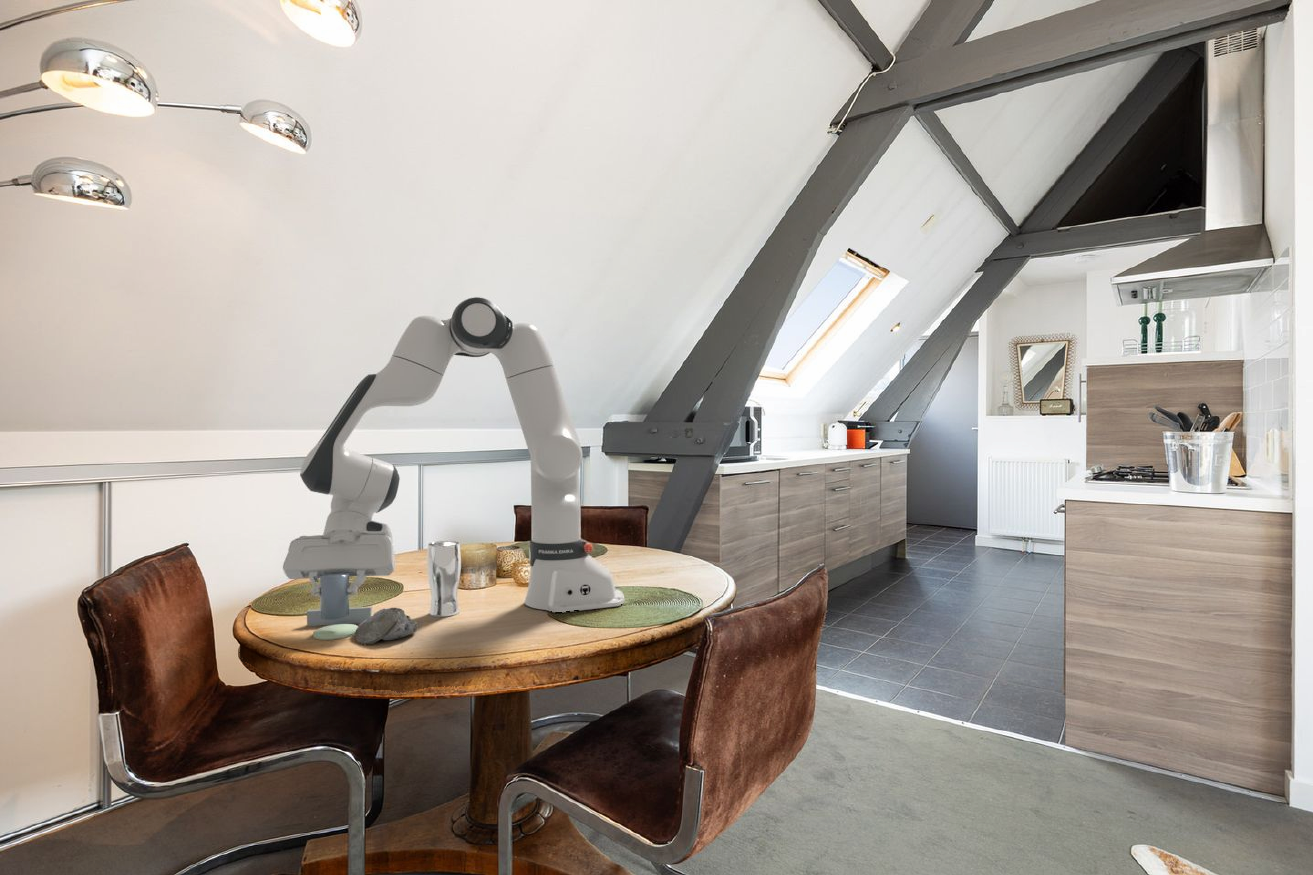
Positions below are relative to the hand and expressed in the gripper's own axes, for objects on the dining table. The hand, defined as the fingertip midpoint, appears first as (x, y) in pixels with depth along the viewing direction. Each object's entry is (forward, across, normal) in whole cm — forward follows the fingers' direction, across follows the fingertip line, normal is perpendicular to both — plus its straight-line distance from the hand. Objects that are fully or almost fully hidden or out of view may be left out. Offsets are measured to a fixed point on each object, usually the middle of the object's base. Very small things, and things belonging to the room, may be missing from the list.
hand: (334, 594), depth 127 cm
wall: (0, -1, +11) cm, 11 cm away
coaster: (+5, 0, +6) cm, 8 cm away
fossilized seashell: (+8, +10, +3) cm, 14 cm away
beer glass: (-2, +19, +13) cm, 23 cm away
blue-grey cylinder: (+3, 0, +4) cm, 4 cm away
